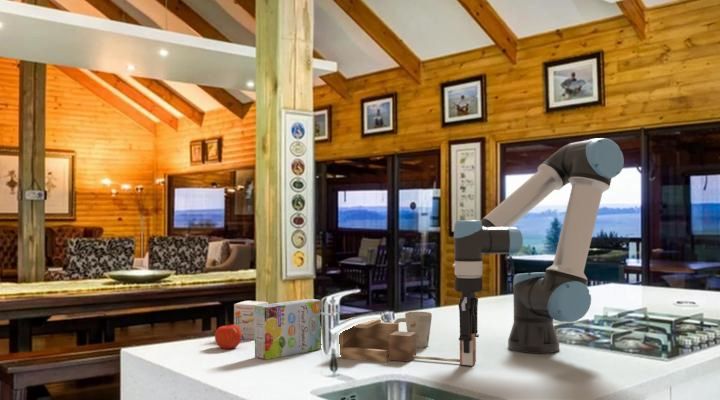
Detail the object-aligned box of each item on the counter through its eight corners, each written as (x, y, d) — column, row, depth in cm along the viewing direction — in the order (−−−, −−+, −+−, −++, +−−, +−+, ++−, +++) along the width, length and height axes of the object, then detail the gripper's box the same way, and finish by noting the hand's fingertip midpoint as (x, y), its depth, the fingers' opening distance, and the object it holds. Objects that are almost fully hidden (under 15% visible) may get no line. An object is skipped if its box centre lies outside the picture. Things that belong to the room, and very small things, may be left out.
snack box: (310, 347, 199) (310, 298, 199) (322, 349, 195) (322, 299, 195) (253, 357, 184) (253, 304, 184) (265, 360, 180) (265, 306, 180)
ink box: (232, 338, 213) (233, 303, 213) (246, 334, 221) (246, 300, 221) (255, 340, 210) (255, 304, 210) (268, 336, 217) (268, 301, 218)
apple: (246, 347, 198) (247, 321, 198) (224, 351, 192) (225, 324, 192) (231, 344, 203) (231, 318, 203) (209, 348, 197) (209, 321, 197)
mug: (430, 348, 196) (430, 315, 196) (389, 347, 199) (389, 314, 199) (433, 343, 204) (433, 311, 205) (393, 342, 207) (393, 310, 207)
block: (476, 362, 177) (476, 332, 177) (471, 366, 171) (471, 336, 172) (396, 355, 186) (396, 327, 186) (389, 359, 180) (389, 331, 180)
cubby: (398, 354, 188) (398, 320, 188) (386, 362, 178) (386, 325, 178) (352, 350, 193) (352, 317, 194) (338, 357, 183) (338, 322, 183)
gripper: (461, 273, 184) (462, 355, 184) (447, 278, 169) (448, 368, 168) (488, 274, 182) (488, 357, 181) (475, 279, 166) (476, 371, 166)
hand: (469, 362), depth 175 cm, fingers closed on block, 3 cm apart
